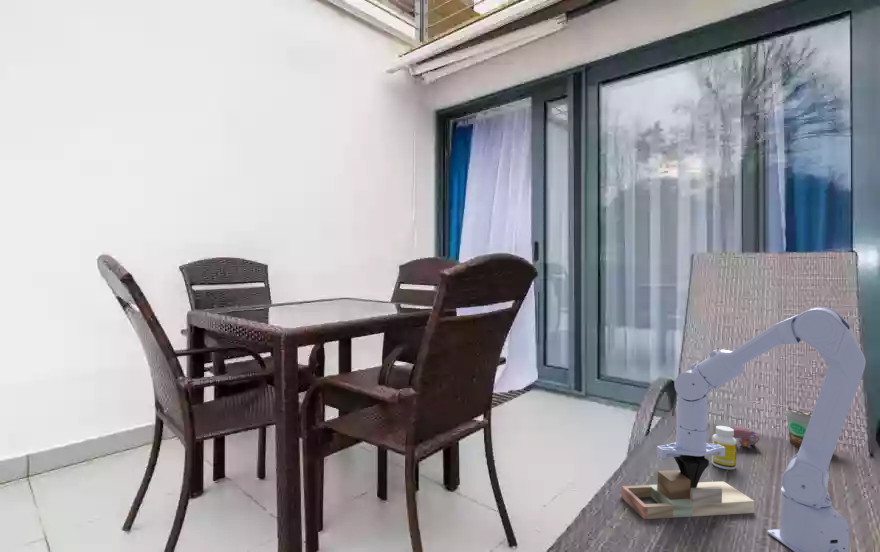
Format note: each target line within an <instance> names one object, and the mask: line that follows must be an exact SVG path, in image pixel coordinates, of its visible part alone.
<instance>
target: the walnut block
mask: <svg viewBox="0 0 880 552" xmlns="http://www.w3.org/2000/svg"><path fill="white" fill-rule="evenodd" d="M690 483H691V480H690V479H688V478H687V477H686V476H684V475H683V474H681V473H680V472H679V471H677V469H674V470H657V489H658V490H659V491H660V492H661V493H663V494H664V495H665V496H666V497H667V498H669V499H670V500H675V499H690Z"/></svg>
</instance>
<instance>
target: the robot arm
mask: <svg viewBox="0 0 880 552" xmlns="http://www.w3.org/2000/svg"><path fill="white" fill-rule="evenodd" d="M800 342H804V343H806V344H807V345H809V346H810V347H811V348H814V350H816V351H817V352H818V354H819V355H820V356H821V358H823V360H824V361H825V363H826V364H827V365H828V369H827V371H826V374H825V375H824V379H823V383H822V384H821V385H822V386H821V388H820V391H819V393H818V397H817V398H816V402H815V404H814V408H813V411H812V415H811V418H810V421H809V424H808V427H807V430H806V432H805V435H804V438H803V441H802V444H801V446H800V448H799V450H798V452H797V453H796V454H794V455H793V456H792V457H790V458H789V461H788V462H787V467H786V468H785V469H786V470H784V472H783V473H782V475H781V480H780V481H781V485H782V486H781V488H780V509H779V510H780V511H779V515H780V516H779V528H777V529H768V530H767V534H769V535H770V536H771V537H773V538H774V539H776V540H777V541H779V542H780V543H782V544H783V545H784V546H786V547H787V548H789V550H792V552H849V551H850V550H849V546H850V543H849V542H850V525H849V522H848V520H847V519H846V518H845V517H844V516H843V515H841V514H840V512H837V510H836V509H835V508H834V506H833V504H832V497H830V496H829V494H828V490H827V489H828V484H829V483H830V480H831V472H830V469H829V467H830V464H831V460H832V458H833V455H834V452H835V450H836V447H837V444H838V441H839V439H840V435H841V433H842V430H843V427H844V425H845V422H846V419H847V417H848V414H849V412H850V409H851V406H852V403H853V401H854V398H855V395H856V392H857V390H858V387H859V384H860V382H861V379H862V376H863V375H864V372H865V368H866V361H867V360H866V357H865V355H864V354H863V351H862V348H861V346H860V344H859V342H858V341H857V338H856V335H855V334H854V332H853V330H852V327H851V325H850V323H849V322H847V320H845V318H843V316H841V315H840V314H839V313H838V312H837V311H835V309H832V308H830V307H827V306H814V307H811V308H808V309H806V310H805V311H803V312H801V313H800V314H795V315H793V316H791V317H789V318H787V319H784V320H781V321H779V322H777V323H775V324H773V325H772V326H770V327H768V328H766V329H765V330H764V331H762V332H760V333H758V335H756V336H754V337H752V338H751V339H750V340H748V341H746V342H745V343H744V344H741V345H740V346H738V347H737V348H735V349H734V350H729V349H720V350H718V351H717V350H716V349H714V350H712V351H711V352H709V353H708V355H709V356H708V357H707V358H705V359H704V360H702V361H701V362H699V363H698V364H697V363H693V364H691V365H690V366H689V367H690V369H688V370H686V371H684V372H681V373H680V374H679V375H678V376H677V377H676V378H675V380H674V384H673V385H674V390H675V392H676V394H677V403H676V432H675V442H671V443H667V444H663V445H657V446H656V455H657V456H658V457H659V458H661V459H665V460H666V459H667V458H674V460H675V462H676V464H677V467H678V469H679V470H680V472H681V474H683V475H684V476H686V477H687V478H688V479H690V480H691V483H690V491H691V488H697V485H698V482H699V481H700V479H701V477H702V475H703V473H704V472H705V470H706V469H707V468H708V467H709V465H710V460H709V459H708V458H706V456H712V455H719V456H725V447H723V446H721V445H719V444H712V443H708V442H707V440H708V439H707V438H708V413H709V412H708V411H709V410H708V394H709V393H710V392H711V391H712V390H716V389H718V388H720V387H722V386H723V385H725V384H727V383H728V382H731V381H732V380H733V379H736V378H737V377H739V376H741V375H742V374H743V373H744V367H745V364H747V363H749V362H750V361H752V360H754V359H756V358H757V357H760V356H762V355H763V354H765V353H767V352H769V351H771V350H773V349H774V348H776V347H779V346H780V345H796V344H797V345H798V344H799V343H800Z"/></svg>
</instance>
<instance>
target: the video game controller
mask: <svg viewBox="0 0 880 552" xmlns="http://www.w3.org/2000/svg"><path fill="white" fill-rule="evenodd" d="M730 428H732V429H734V436H733V437H734V438H735V439H736V440H737V439H739V441H738V442H739V444H740V446H742V447H744V448H747V447H749V446H754V445H756V444H757V443H759V442H760V438H759V435H758V433H757V432H756V431H754V430H753V428H750V429H748V428H745V427H743V426H738V425H737V426H731V427H730Z"/></svg>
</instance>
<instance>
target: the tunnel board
mask: <svg viewBox="0 0 880 552" xmlns="http://www.w3.org/2000/svg"><path fill="white" fill-rule="evenodd" d="M676 470H677V469H676ZM677 471H679V472H680V469H679V470H677ZM680 473H681V472H680ZM620 497H621V499H623V501H625V502H626V504H627V505H629V506H630V508H631V509H632V510H633V511H635V512H636V513H637V514H638V515H639V516H640V517H641V518H642V519H643V520H652V519H653V520H654V519H655V520H656V519H669V518H670V519H672V518H686V517H687V518H688V517H705V516H707V517H708V516H709V517H710V516H721V515H722V516H723V515H741V514H755V502H756V501H755V500H754V499H752V498H751V497H749V496H748V495H746V494H744V493H743V492H741V491H739V490H738V489H736V488H735V487H733V486H732V485H730V484H728V483H727V482H726V481H722V480H721V481H704V482H703V481H700V482H698V485H697V488H691V491H690V499H675V500H670V499H669V498H667V497H666V496H665V495H664V494H663V493H661V492H660V491H659V490H658V489H657V484H637V485H635V484H634V485H622V486H621V496H620Z"/></svg>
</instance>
